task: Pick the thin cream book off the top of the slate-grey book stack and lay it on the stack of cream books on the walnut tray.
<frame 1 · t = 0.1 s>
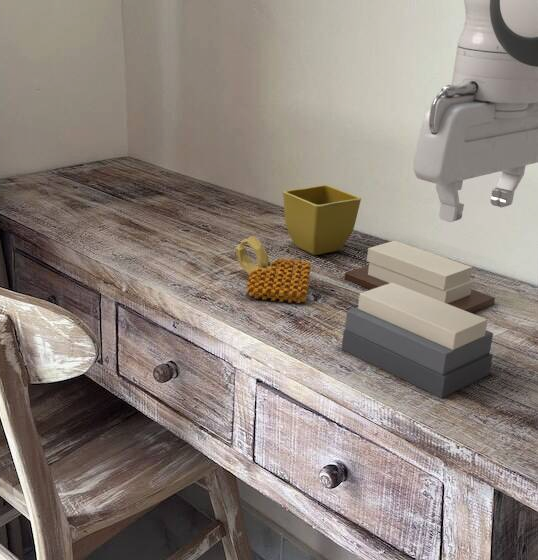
hand: (476, 212, 86), 18 cm above the table, tool pointing down, fingers open, 8 cm apart
ornament: (269, 288, 113), on the table
cream stack: (416, 291, 113), on the table
flower pot: (316, 250, 128), on the table
cream book: (419, 322, 92), point 5 cm above the table, touching grey stack
grey stack: (413, 361, 93), on the table
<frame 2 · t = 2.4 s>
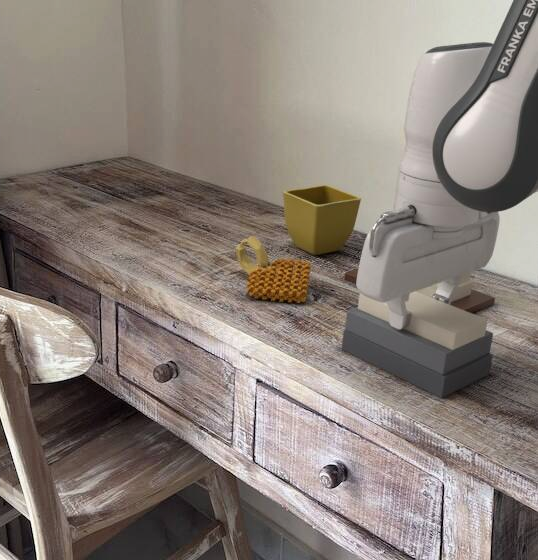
hand: (419, 318, 91), 5 cm above the table, tool pointing down, fingers closed on cream book, 6 cm apart
cream book: (419, 322, 92), point 5 cm above the table, touching grey stack, gripper
everything else where it was.
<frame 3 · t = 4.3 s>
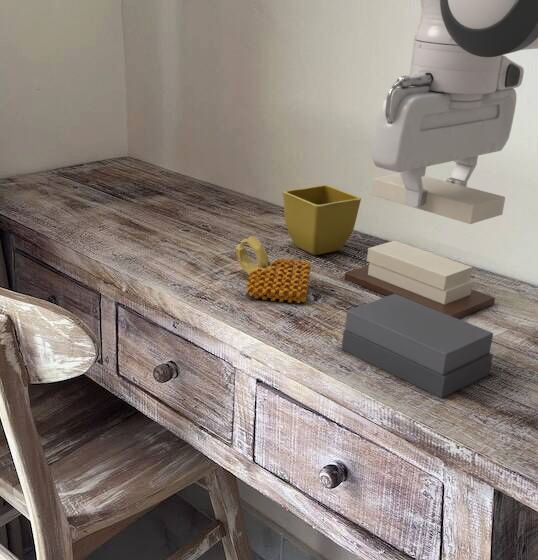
hand: (435, 200, 89), 18 cm above the table, tool pointing down, fingers closed on cream book, 6 cm apart
cream book: (434, 204, 89), point 18 cm above the table, touching gripper
everything else where it was.
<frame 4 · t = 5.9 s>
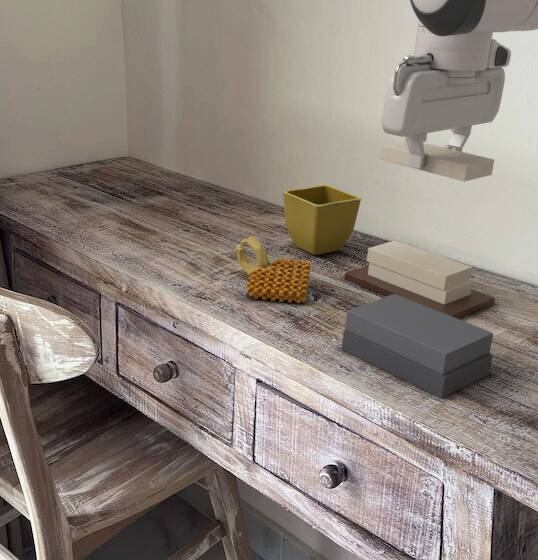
hand: (435, 163, 104), 19 cm above the table, tool pointing down, fingers closed on cream book, 6 cm apart
cream book: (434, 167, 104), point 18 cm above the table, touching gripper
everything else where it was.
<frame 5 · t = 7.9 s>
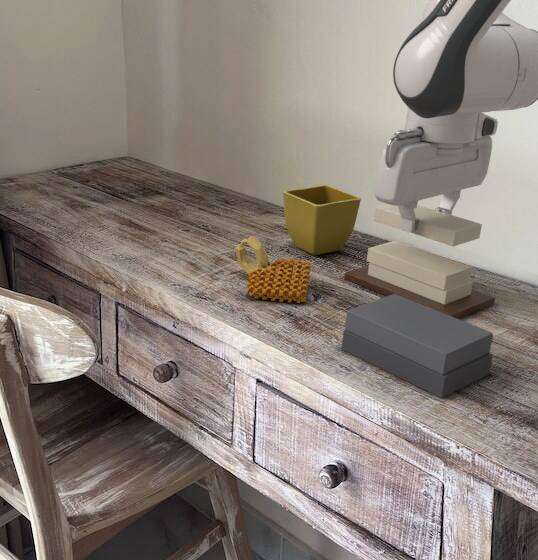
hand: (425, 225, 110), 10 cm above the table, tool pointing down, fingers closed on cream book, 6 cm apart
cream book: (425, 229, 110), point 9 cm above the table, touching gripper
everything else where it was.
when the fingers open (5 cm above the table, at t = 9.5 s): cream book stays where it is, resting on cream stack.
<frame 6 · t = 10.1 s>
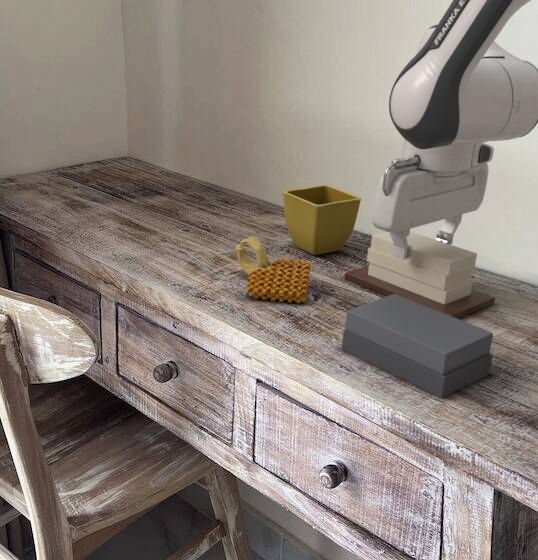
hand: (423, 251, 111), 6 cm above the table, tool pointing down, fingers open, 8 cm apart
cream book: (421, 257, 112), point 5 cm above the table, touching cream stack
everything else where it was.
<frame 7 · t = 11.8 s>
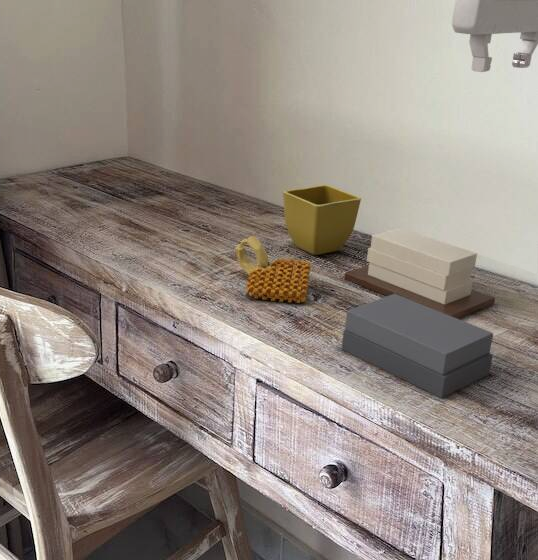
hand: (500, 69, 105), 30 cm above the table, tool pointing down, fingers open, 8 cm apart
nothing on the table moved.
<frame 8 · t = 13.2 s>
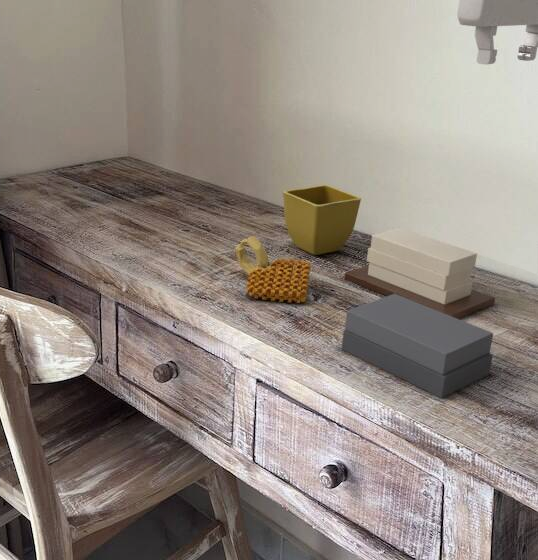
hand: (506, 62, 105), 31 cm above the table, tool pointing down, fingers open, 8 cm apart
nothing on the table moved.
at the end: cream book 0.1 cm off-centre on the cream stack, point 5.0 cm above the cream stack's base; cream book tilted 0°; the gripper is holding nothing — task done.
